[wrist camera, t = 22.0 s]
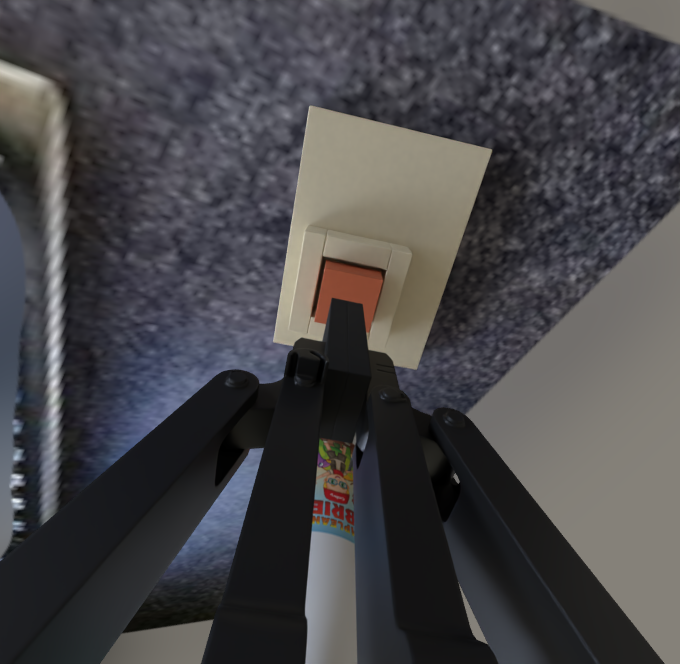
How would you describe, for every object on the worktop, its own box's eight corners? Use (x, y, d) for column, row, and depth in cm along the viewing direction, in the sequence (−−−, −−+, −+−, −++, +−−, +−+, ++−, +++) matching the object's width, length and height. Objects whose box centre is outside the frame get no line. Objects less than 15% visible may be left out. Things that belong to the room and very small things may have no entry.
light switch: (312, 109, 21) (306, 100, 18) (479, 150, 22) (505, 148, 19) (278, 328, 27) (268, 355, 24) (411, 355, 28) (421, 384, 24)
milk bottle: (357, 484, 34) (373, 871, 15) (271, 474, 33) (182, 858, 15) (374, 415, 30) (418, 801, 12) (279, 402, 30) (177, 781, 12)
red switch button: (326, 259, 21) (324, 267, 20) (380, 271, 22) (383, 280, 20) (316, 310, 23) (314, 322, 21) (367, 321, 23) (369, 333, 21)
